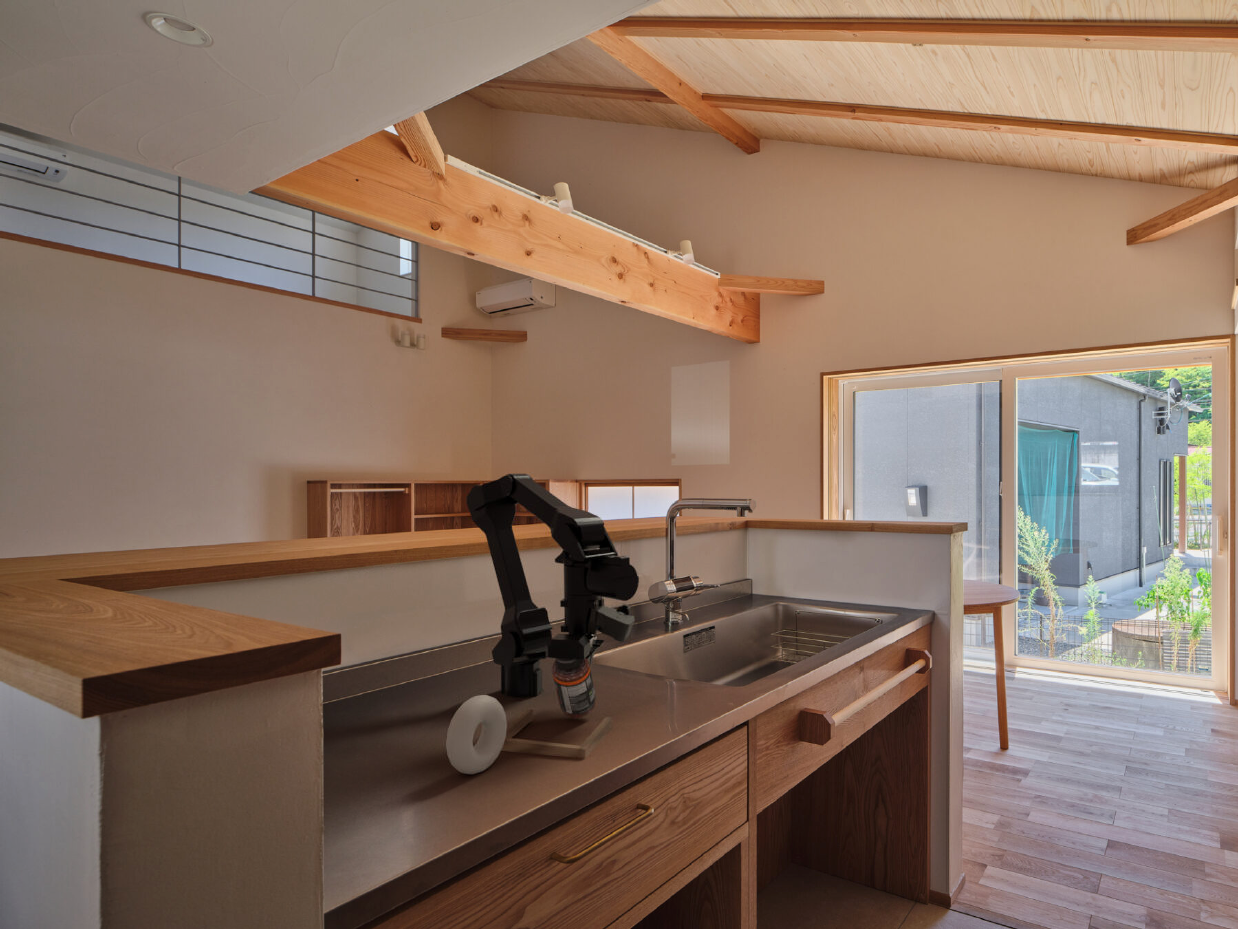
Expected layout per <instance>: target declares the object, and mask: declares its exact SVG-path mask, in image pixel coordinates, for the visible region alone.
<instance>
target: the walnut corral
mask: <svg viewBox="0 0 1238 929" xmlns="http://www.w3.org/2000/svg"><path fill="white" fill-rule="evenodd" d="M533 720H534V709H531V708H527V709H526V710H525V711H522V713H521V714H520V715H518V716H517V717H516V718H515V719H514V720H512V721H511V722H510V723H509V724H507V730H506V737H505V741H504V744H503V747H502V749H501V751H502V752H503V751H504V752H511V753H523V754H532V755H542V756H551V757H552V756H555V757H563V758H564V757H565V758H576V759H586V758H587V757H589V755H590V754H591V753H592V752H593V751H594V749H595V748H596V747H597V746H598V745H599V744H600V742H601V741H602V740H603V739H604V738H605V737H606V735H607V734H608V733H609V732H610V731H611V730H612V728H613V717H611V716H610V717H608V716H606V717H604V719H602V721H601V722H600V723H599V724H598V726H597V727H596V728H595V729H594V730H593V731H592V733H590V734H589V736H588V737H587V738H586V739H585V740H584V742H583V743H582V744H581V745H576V744H575V745H574V744H566V743H560V742H559V743H558V742H548V741H541V740H531V739H523V738H522V739H521V738H514V737H515V736H516V735H517V734H518V733H519V732H521V731H522V730H523V729H524V728H525V727H526V726H527V725H528V724H529V723H531V722H532V721H533ZM501 751H500V752H501Z"/></svg>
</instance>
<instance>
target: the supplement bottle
mask: <svg viewBox="0 0 1238 929" xmlns="http://www.w3.org/2000/svg"><path fill="white" fill-rule="evenodd" d="M551 666H552V667H551V673H552V678H553V681H554V686H555V691H556V695H557V700H558V704H559V706H560V710H561V712H562V713H563V714H564V715H565V716H566V717H569V718H575V719H576V718H581V717H585V716H587V715H588V714H589V715H590V713H591V712H592V711H593V710H594V709H595V706H596V704H597V696H596V691H595V685H594V681H593V676H592V670H591V669H590V665H589V662H588V659H587V658H585V659H581V660H576V659H561V658H555V660H554V662H553V663H552V665H551Z"/></svg>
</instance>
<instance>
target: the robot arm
mask: <svg viewBox="0 0 1238 929" xmlns="http://www.w3.org/2000/svg"><path fill="white" fill-rule="evenodd" d="M465 502H466V506H467V509H468V511H469V514H470V517H471V519H472V522H473V523H474V524H475V525H476V526H477V527H478V528H479V530H481V531H482V532H483V534H485V537H486V541H487V542H486V543H487V545H488V549H489V553H490V557H491V560H492V564H493V568H494V572H495V577H496V580H497V583H498V587H499V591H500V595H501V599H502V603H503V606H504V612H503V616H502V620H501V623H500V632H501V638H500V639H499V641H498V642H497V644H496V645H495V646H494V647H493V649H492V650H491V656H492V662H493V663H494V664H497V665H498V666H499V665H500V694H502V695H505V696H506V697H512V698H527V697H531V698H532V697H537V696H538V695H539V694H540V693H542V692H544V688H543V668H541V667H540V664H541V662H540V661H541V660H545V659H547V658H551V659H556V658H561V659H576V660H581V659H585V658H587V659H588V662H589V665H590V669H591V667H592V664H593V660H594V655H595V652H596V651H597V650H598V649H599V648H600V647H601V646H603V644H604V643H605V641H606V640H604V639H597V638H598V636H597V634H598V632H599V633H600V634H604V635H605V636H608V637H610V638H613V639H614V640H615V641H617V642H620V643H624V642H625V641H626V640H627V638H629V637H630V634H631V631H632V628H633V626H634V624H635V615H633V612H632V606H630V605H628V604H626V603H622V604H621V605H620V606H619V607H617V608H616V607H608V606H606V605H605V598H606V599H611V600H618V601H623V602H627V601H629V600H631V599H632V598H634V597H635V595H636V594H637V593H636V592H637V591H638V587H639V580H640V578H639V576H638V573H637V572H638V571H637V570H636V568H635V567H634V566H633V564H630V561H631V560H630V556H628V555H621V556H619V553H618V552H617V550H616V547H615V545H614V544H613V542H612V539H611V537H610V535H609V534H608V532H607V529H606V527H605V522H604V521H603V519H602V518H601V517H600V516H599V515H596V514H593V513H592V512H589V511H587V510H584V509H579V508H576V507H572V506H569V505H568V504H567V503H565V502H564V501H562V500H561V499H560V498H558V497H557V496H556V495H554V494H553V493H551V492H550V490H547V489H546V488H544V487H543V486H542V485H540V484H539V483H538V482H536V481H535V480H533V477H532V476H531V475H529V474H527V473H507V474H506V475H503V476H501V477H500V478H497V479H495V480H492V481H489V482H485V483H483V484H481V485H480V484H477V485H474V486H473V487H472V488H470V491H469V493H468V494H467V496H466V500H465ZM517 505H520V506H521V507H523V508H524V509H526V511H528V512H530V513H531V515H533V516H534V517H536V518H537V519H538V520H540V521H541V522H542V523H543V524H545V525H546V526H547V527H548V528H549V530H550V534H551V535H550V536H551V538H552V539H553V540H554V541H555V543H556V544H557V545H558V546H559V547H560V548H561V549H562V551H561V552H560V554H559V555H557V556H556V557H555V558H554V563H555V564H562V565H563V599H561V600H559V602H560V603H559V604H560V606H559V607H561V608H564V610H563V611H564V615H563V616H564V619H563V620H564V623H562V625H560V633H557V634H556V635H555V636H553V634H552V630H553V626H552V624H551V622H550V618H549V614H548V611H547V609H546V607H545V606H544V607H538V606H537V605H536V604H535V602H533V600H532V596H531V593H530V592H531V591H530V588H529V586H528V582H527V578H526V574H525V571H524V567H523V563H522V560H521V556H520V553H519V549H518V545H517V541H516V538H515V533H514V531H513V523H514V521H515V517H516V513H517V508H516V506H517ZM615 608H616V609H615Z"/></svg>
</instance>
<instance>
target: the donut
mask: <svg viewBox="0 0 1238 929" xmlns="http://www.w3.org/2000/svg"><path fill="white" fill-rule="evenodd" d="M507 723H508V722H507V714H506V712H505V709H504V707H503V705H502V704H501V703H500V702H499V700H497V698H495V697H493V696H490V695H487V694H480V695H475V696H472V697H471V698H469V699H467V700H466V701H464V702H463V703H462V704H461V706H460V707H459V708H458V709H457V710H456V712H455V713H454V715H453V717H452V718H451V721H450V723H449V726H448V729H447V731H446V732H447V734H446V740H445V741H446V742H445V746H446V754H447V757H448V760H449V763H450V764H451V766H452V767H454V769H456V771H458V772H460V773H461V774H466V775H470V776H471V775H476V774H478V773H482V772H483V771H485V770H487V769H489V767H490V766H492V764H493V763H494V762H495V761H496V759H497V758H498V757H499V755H500V753H501V749H502V747H503V744H504V741H505V737H506V730H507V726H508V724H507ZM480 724H481V732H480V735H479V738H478V741H477V742H476V743H475V745H474V744H473V741H474V735H475V733H476V729H477V728H478V726H479V725H480Z"/></svg>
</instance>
